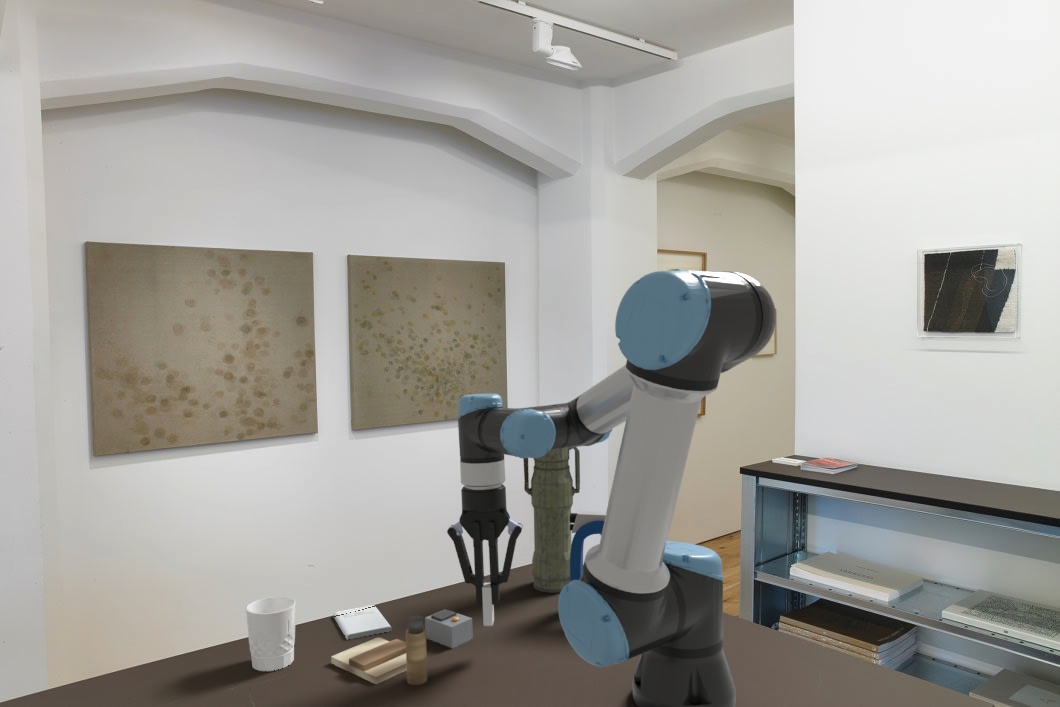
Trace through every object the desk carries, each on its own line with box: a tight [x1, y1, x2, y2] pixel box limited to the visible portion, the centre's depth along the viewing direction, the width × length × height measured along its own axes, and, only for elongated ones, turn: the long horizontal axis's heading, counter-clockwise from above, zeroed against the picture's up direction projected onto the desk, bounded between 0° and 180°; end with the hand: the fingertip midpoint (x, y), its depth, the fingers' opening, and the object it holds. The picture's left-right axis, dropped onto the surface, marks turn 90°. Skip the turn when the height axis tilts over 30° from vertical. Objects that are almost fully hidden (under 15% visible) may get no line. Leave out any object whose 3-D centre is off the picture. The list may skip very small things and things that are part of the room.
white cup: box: [245, 596, 296, 672], centre depth 131 cm, size 8×8×10 cm
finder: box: [424, 608, 474, 649], centre depth 139 cm, size 7×5×4 cm
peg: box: [405, 615, 428, 686], centre depth 123 cm, size 3×3×10 cm
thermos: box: [522, 447, 581, 594], centre depth 165 cm, size 9×12×35 cm
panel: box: [330, 636, 407, 685], centre depth 130 cm, size 12×10×2 cm
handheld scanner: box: [570, 510, 607, 581], centre depth 150 cm, size 5×16×20 cm, turn 79°
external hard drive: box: [333, 604, 392, 641], centre depth 147 cm, size 2×8×12 cm
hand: (489, 622), depth 132 cm, fingers closed
